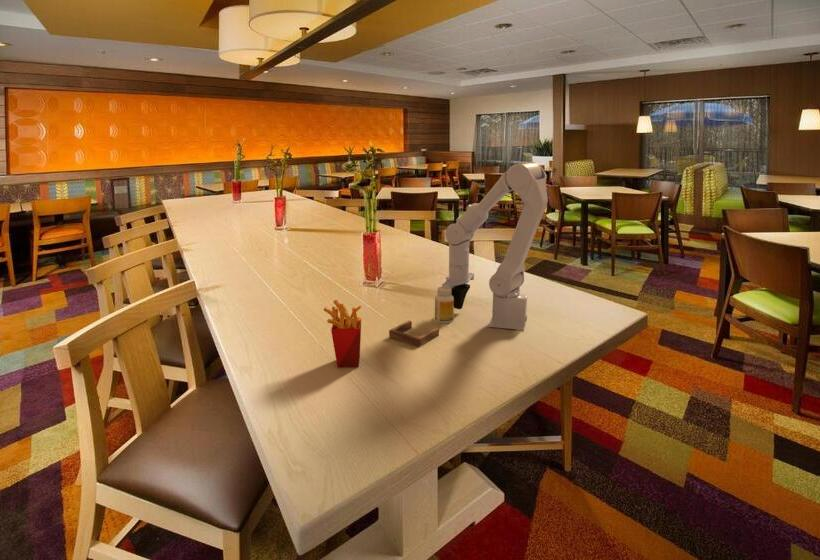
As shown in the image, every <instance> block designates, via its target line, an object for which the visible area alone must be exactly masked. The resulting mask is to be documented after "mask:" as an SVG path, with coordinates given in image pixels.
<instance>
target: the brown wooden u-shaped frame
mask: <svg viewBox="0 0 820 560" xmlns="http://www.w3.org/2000/svg"><path fill="white" fill-rule="evenodd" d="M412 324H413V321H412V320H407V321H405V322H403V323H400V324H399V325H398V326H395V327H393V328H391V329H389V330H388V338H390V339H393V340H397V341H398V342H399V341H400V342H403V343H406V344H410V345H412V346H416V347H423V346H424V345H425V344H427V343H429V342H431V341H432V340H434V339H436V338H437V337H439V336H440V332H439V331H440V328H437V327H435V328H433V329H431V330H429V331H428V332H426V333H424V334H422V335H420V336H416V335H412V334H409V333H406V332H407V331H409V330H411V329H412V327H413V325H412Z"/></svg>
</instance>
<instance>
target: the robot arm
mask: <svg viewBox="0 0 820 560" xmlns="http://www.w3.org/2000/svg"><path fill="white" fill-rule="evenodd" d="M547 177H548V175H547V174H546V172H545V170H544V168H543V167H542V165H541V164H539V163H538V162H535V161H529V162H524V163H515V164H513V165H511V166H510V167H509V168H508V169H507V171H505V172H504V173H502V174H501V176H500V177H499V179H498V180H497V181H496V182H495V184H494V185H493V186H492V187H491V188H490V189H489V191H487V193H486V194H485V196H484V197H483V198H482V199H481V201H480V202H479V203H477V202H476V203H475V202H474V203H472V204H467V206H466V207H465V209H466V211H464V212H463V213H462V215H461V216H460V217H457V218H456V219H455V221H456V222H455V223H451V224H449V225H448V226H447V228H446V230H445V234H444V235H445V238H446V240H447V242H448V247H449V248H448V276H447V275H446V276H445V280H446V281H445V282H444V283H442V284H441V287H442V288H445V289H449V288H451V289H452V293H451V295H452V296H453V297H454V310H462V309H463V307H464V302H465V299H466V297H467V294H468V292H469V290H470V288H471V285H470V284H469V282H470V281H474V280H475V273H473V272H469V271H470V270H469V268H470V267H469V266H470V265H469V264H470V263H469V262H470V243H471V240H472V239H473V237H474V235H475V234H474V233H475V232H476V231H477V230H478V229H479V228H480V227H481V226H482V225H483V224H484V223H485V222H486V221H487V220H489V219H488V218H489V211H491V209H492V208H494V206H495V205H497V204H498V203H499V201H501V200H502V199H503V198H504V197H505V196H506V195H507V194H508V193H509V192H512V191H513V192H514V193H515V194H516V195H518V196H519V197H520V199H521V201H522V203H523V207H522V211H521V213H520V215H519V218H518V220H517V225H516V227H515V230H514V232H513V234H512V237H511V239H510V243H509V245H508V248H507V251H506V254H505V256H504V259H503V260H502V262H501V263H500V264H499V265H498V267H497V268H496V272H494V274H493V275H491V277H490V278H489V281H488V286H489V289H490V291H491V292H492V311H491V312H492V313H491V314H492V315H491V316H492V317H491V319H490V321H489V323H488V327H489V328H496V329H506V330H517V331H524V330H525V327H526V323H527V320H528V314H527V308H528V295H527V294H523V293H521V290H520V287H521V286H523V284H524V282H525V270H526V266H525V262H526V258H527V256H528V254H529V251H530V250H531V249H530V248H531V246H532V244H533V241H534V238H535V236H536V234H537V231H538V228H539V225H540V223H541V220H542V218H543V215H544V214H545V210H546V208H547V205H548V203H549V202H548V200H549V199H548V191H547V190H548V189H547V183H546V182H547Z"/></svg>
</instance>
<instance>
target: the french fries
mask: <svg viewBox="0 0 820 560" xmlns="http://www.w3.org/2000/svg"><path fill="white" fill-rule="evenodd" d="M333 304H334V305H335V306H331V309H329V308H328V307H324V308H323V312H325V313H327V314H329V315H330V316H331V318H328V319H327V320H326V322H327V323H328V324H332V326H331V329H330V331H331V335H332V336H331V338H332V342H333V348H334V355H335V360H336V366H337V369H339V368H341V369H342V368H359V366H360V359H361V342H362V341H361V339H362V337H361V335H362V318H361V316H358V314H357V312H358V311H359V310H360V309H361V308H362V306H361V305H359V306H357V307H355V306H354V307H352V308H351V310H352V312H351V314H350V315H349V313H348V310H347V308H346V306H345V305H344V303H340V301H338V300H337V299H334V300H333Z"/></svg>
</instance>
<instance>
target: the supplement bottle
mask: <svg viewBox="0 0 820 560" xmlns="http://www.w3.org/2000/svg"><path fill="white" fill-rule="evenodd" d="M436 292H437V294H436V295H435V297H434V321H435V322H436V323H439V324H450V323H452V322H453V321H454V313H455V312H454V311H455V308H454V297H453V296H452V295H451V293H452V289H451V288H449V289H445V288H442V286H439V287H437V291H436Z"/></svg>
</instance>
